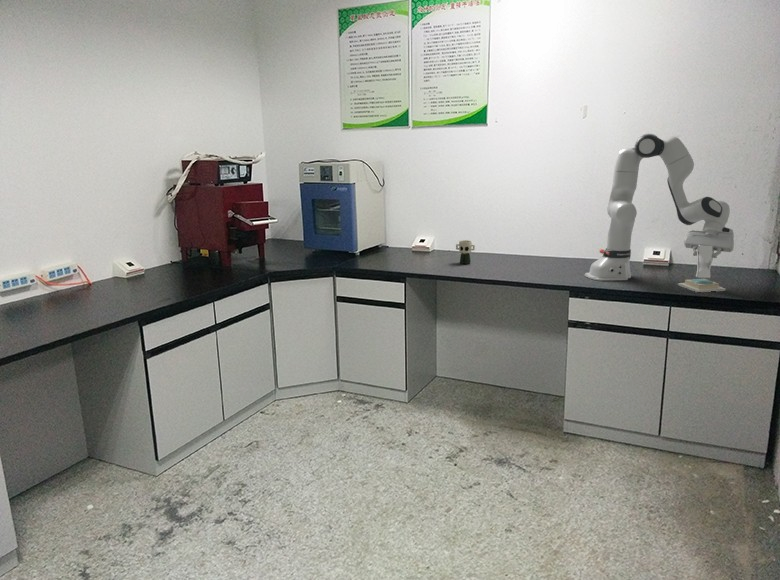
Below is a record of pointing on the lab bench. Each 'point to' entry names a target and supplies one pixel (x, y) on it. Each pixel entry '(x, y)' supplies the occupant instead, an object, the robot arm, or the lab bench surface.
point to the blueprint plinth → (701, 285)
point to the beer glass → (704, 260)
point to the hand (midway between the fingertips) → (704, 256)
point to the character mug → (465, 250)
